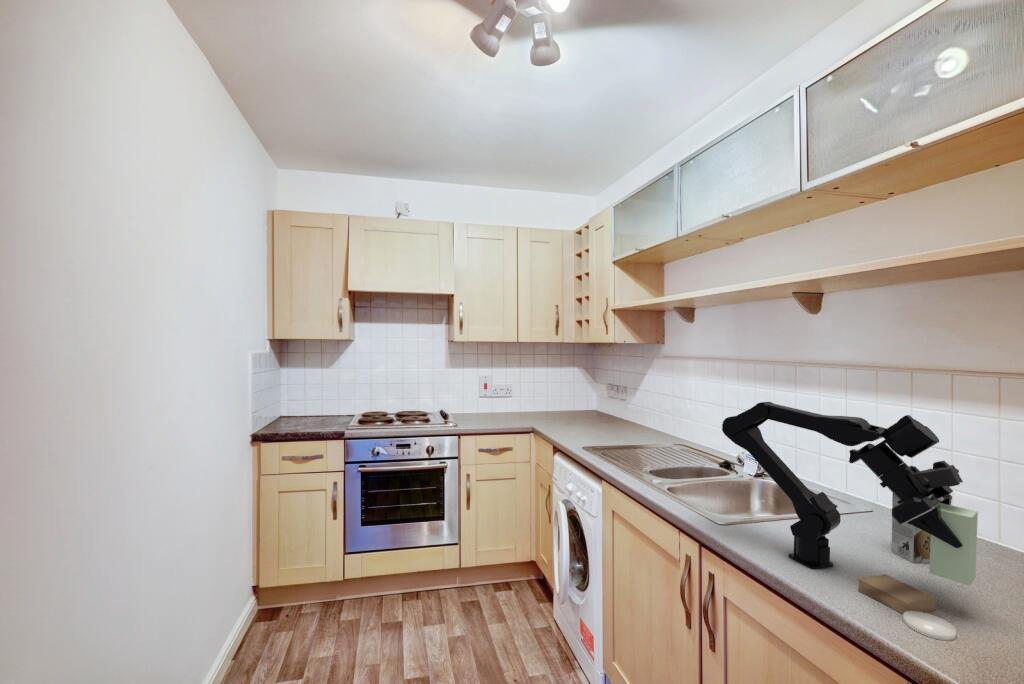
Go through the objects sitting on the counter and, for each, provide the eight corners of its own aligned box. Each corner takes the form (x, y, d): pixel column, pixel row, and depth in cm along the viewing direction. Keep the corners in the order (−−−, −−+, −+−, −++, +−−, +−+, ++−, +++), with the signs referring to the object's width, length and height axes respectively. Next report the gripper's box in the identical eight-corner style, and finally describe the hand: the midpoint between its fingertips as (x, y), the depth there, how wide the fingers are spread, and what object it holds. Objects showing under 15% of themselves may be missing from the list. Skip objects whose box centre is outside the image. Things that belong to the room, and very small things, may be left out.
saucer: (893, 619, 85) (893, 613, 85) (920, 613, 87) (920, 608, 87) (938, 643, 78) (938, 637, 78) (966, 636, 80) (966, 630, 80)
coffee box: (925, 551, 114) (927, 485, 114) (951, 563, 107) (953, 494, 107) (889, 550, 113) (891, 485, 113) (913, 563, 107) (915, 494, 107)
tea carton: (929, 573, 88) (931, 508, 88) (936, 565, 92) (938, 502, 92) (969, 585, 84) (971, 517, 84) (975, 577, 87) (977, 511, 87)
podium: (858, 590, 94) (858, 578, 94) (884, 585, 97) (885, 574, 97) (907, 616, 86) (907, 603, 86) (935, 610, 88) (935, 597, 88)
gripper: (915, 454, 85) (999, 535, 76) (940, 442, 96) (1016, 512, 88) (862, 485, 92) (935, 563, 83) (891, 471, 103) (958, 538, 94)
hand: (963, 543), depth 87 cm, fingers closed on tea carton, 5 cm apart
